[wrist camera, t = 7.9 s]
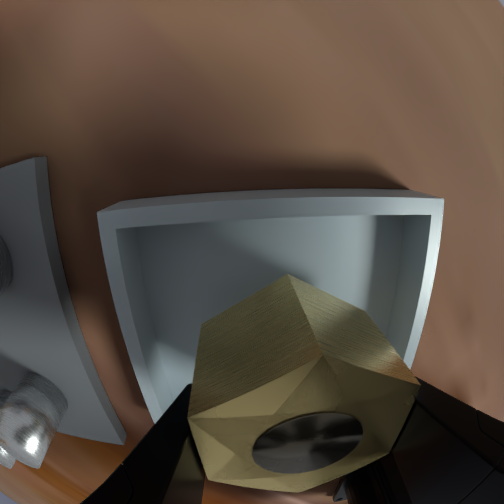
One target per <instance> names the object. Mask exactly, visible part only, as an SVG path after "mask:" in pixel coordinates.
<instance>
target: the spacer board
mask: <svg viewBox="0 0 504 504" xmlns="http://www.w3.org/2000/svg"><path fill="white" fill-rule="evenodd" d="M0 235H1V236H2V237H3V239H4V240H5V242H6V244H7V246H8V249H9V251H10V254H11V258H12V262H13V280H12V283H11V285H10V287H9V288H8V289H7V290H6V291H4V292H3V293H2V294H0V391H1V390H2V389H6V390H9V391H11V392H12V391H13V390H14V389H15V387H16V386H17V384H18V383H19V382H20V380H21V379H22V378H23V376H24V375H25V374H26V373H28V372H34V373H38V374H40V375H42V376H44V377H46V378H47V379H49V380H50V381H51V382H53V383H54V384H55V385H56V386H57V387H58V388H59V389H60V390H61V392H62V393H63V394H64V396H65V397H66V399H67V402H68V409H67V411H66V413H65V415H64V417H63V419H62V421H61V423H60V425H59V427H58V429H57V431H56V432H60V433H64V434H68V435H72V436H77V437H81V438H86V439H90V440H95V441H101V442H106V443H112V444H119V445H124V443H125V440H126V436H127V434H126V432H125V430H124V428H123V426H122V424H121V422H120V421H119V419H118V417H117V415H116V413H115V411H114V409H113V407H112V405H111V403H110V400H109V398H108V396H107V394H106V392H105V390H104V387H103V385H102V383H101V381H100V378H99V376H98V374H97V371H96V369H95V366H94V364H93V361H92V359H91V356H90V354H89V351H88V348H87V346H86V343H85V340H84V337H83V335H82V332H81V329H80V326H79V323H78V320H77V317H76V313H75V310H74V307H73V303H72V300H71V297H70V293H69V289H68V286H67V282H66V278H65V274H64V270H63V265H62V261H61V257H60V252H59V247H58V242H57V237H56V231H55V226H54V219H53V213H52V206H51V198H50V190H49V180H48V169H47V156H45V157H34V158H31V159H27V160H24V161H21V162H18V163H15V164H11V165H8V166H6V167H3V168H0Z"/></svg>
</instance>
